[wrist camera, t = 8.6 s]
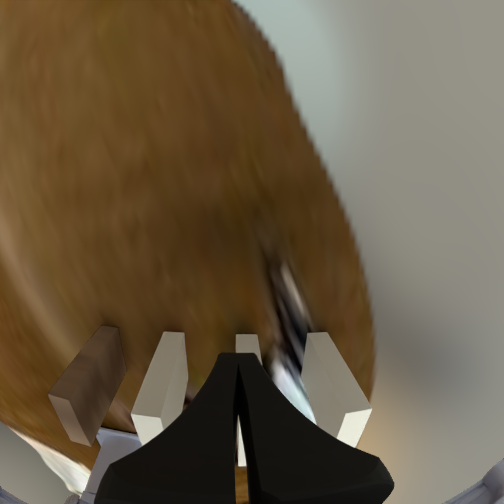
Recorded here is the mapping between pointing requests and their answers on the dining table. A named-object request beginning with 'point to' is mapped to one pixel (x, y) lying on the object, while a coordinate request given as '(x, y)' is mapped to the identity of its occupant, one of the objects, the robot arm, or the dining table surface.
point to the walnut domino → (89, 385)
